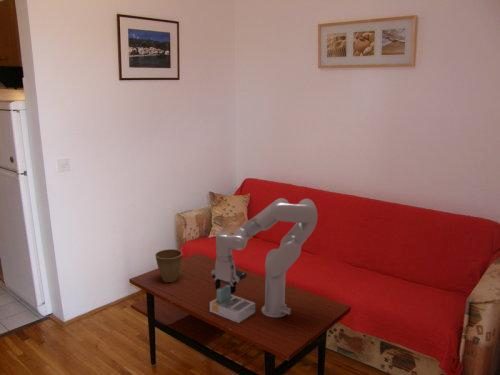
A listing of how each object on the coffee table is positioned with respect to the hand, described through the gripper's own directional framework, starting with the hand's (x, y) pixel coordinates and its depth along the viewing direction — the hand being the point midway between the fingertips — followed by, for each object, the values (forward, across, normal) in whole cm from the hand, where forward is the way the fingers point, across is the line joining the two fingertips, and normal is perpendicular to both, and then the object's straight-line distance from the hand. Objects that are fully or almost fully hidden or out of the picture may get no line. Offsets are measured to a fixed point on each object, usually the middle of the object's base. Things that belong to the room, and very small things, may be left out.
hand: (225, 290), depth 212 cm
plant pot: (+9, +47, -6) cm, 49 cm away
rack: (+10, -4, +1) cm, 11 cm away
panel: (+9, +1, 0) cm, 9 cm away
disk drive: (+10, +21, -31) cm, 39 cm away
